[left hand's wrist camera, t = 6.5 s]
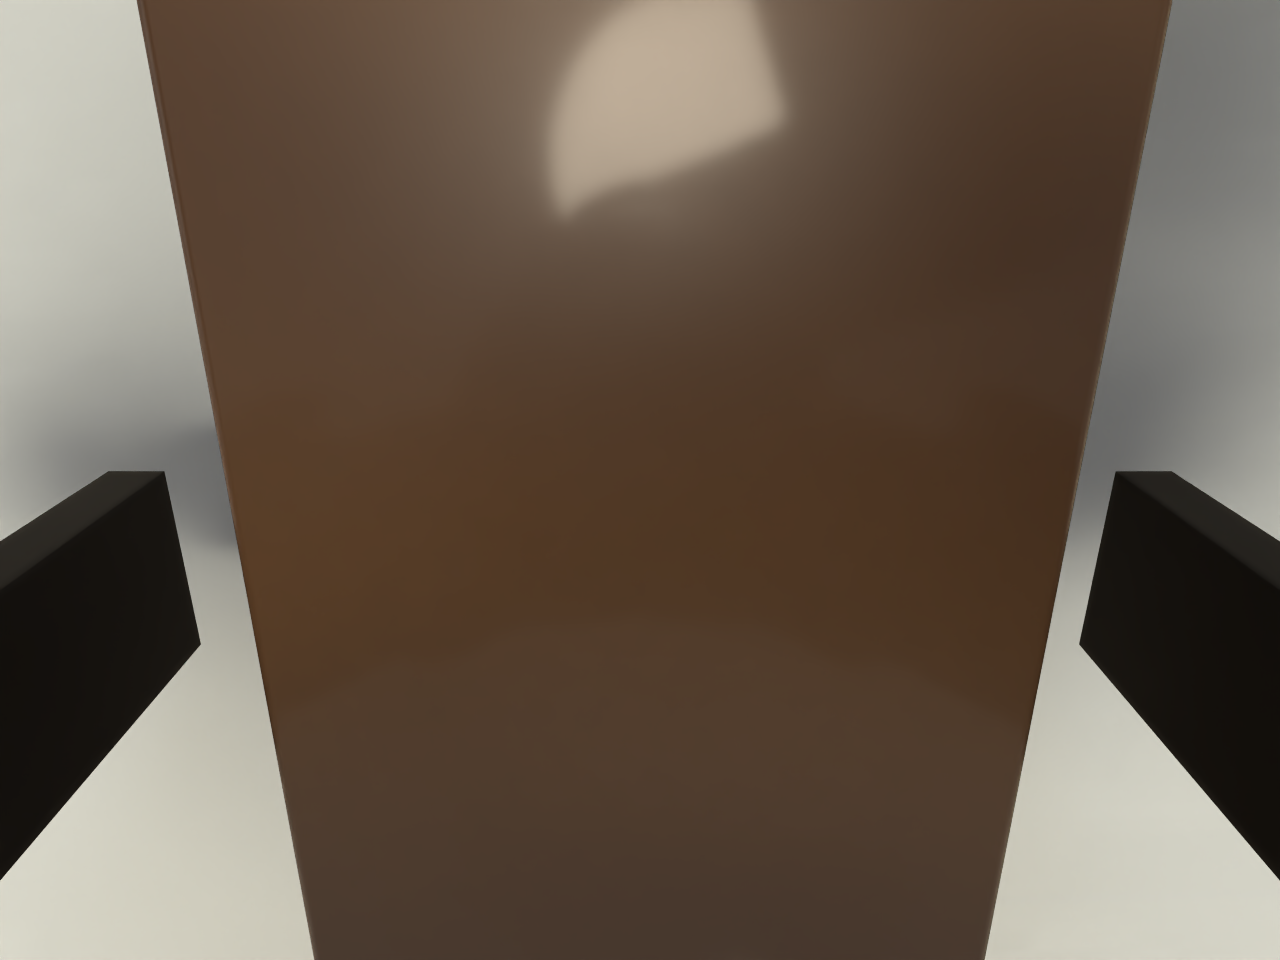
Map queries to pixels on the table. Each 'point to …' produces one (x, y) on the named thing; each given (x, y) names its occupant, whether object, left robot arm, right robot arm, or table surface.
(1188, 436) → the table surface
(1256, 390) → the table surface
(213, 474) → the table surface
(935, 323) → the beam
